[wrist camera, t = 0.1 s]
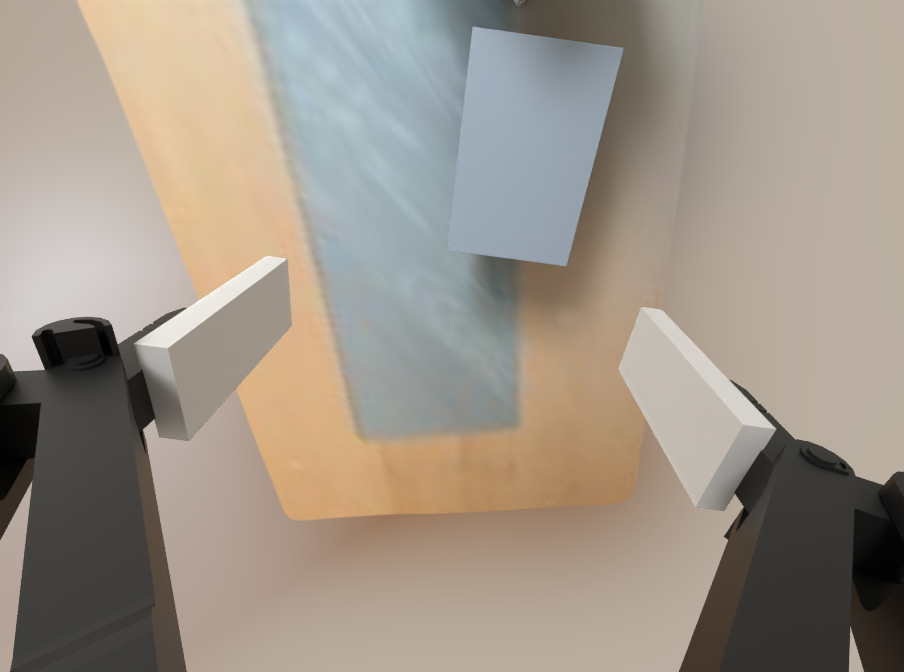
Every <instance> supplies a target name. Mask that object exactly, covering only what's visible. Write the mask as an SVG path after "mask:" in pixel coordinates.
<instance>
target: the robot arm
mask: <svg viewBox="0 0 904 672" xmlns="http://www.w3.org/2000/svg"><path fill="white" fill-rule="evenodd" d="M291 326H292V321H291V306H290V291H289V276H288V261H287V259H285V258H278V257H270V256H266V257H264V258H263V259H261V260H260V261H258V262H257V263H255V264H254V265H252V266H250V267H249V268H247V269H246V270H244V271H243V272H241V273H240V274H238V275H237V276H235V277H234V278H232V279H231V280H229V281H228V282H226V283H225V284H223V285H222V286H220V287H219V288H217V289H216V290H214V291H213V292H211V293H210V294H208V295H207V296H205V297H204V298H202V299H200V300H199V301H197V302H196V303H195V304H193V305H192V306H190V307H188V308H182V309H179V310H176V311H173V312H170V313H168V314H165V315H164V316H162V317H161V318H159V319H157V320H156V321H154V322H153V324H150V325H148V326H146V327H145V328H143V330H142V331H138V332H137V333H135V334H134V335H132V336H131V337H129V338H128V339H126V340H124V341H123V342H121V343H120V344H117V341H116V338H115V334H114V331H113V328H112V325H111V323H110V322H109V321H108V320H105V319H102V318H96V317H79V318H71V319H65V320H60V321H57V322H54V323H51V324H48V325H45V326H43V327H42V328H40V329H38V330H36V331H35V333H34V334H33V335H32V339H33V341H34V344H35V346H36V348H37V351H38V354H39V356H40V358H41V361H42V363H43V366H44V368H45V370H39V371H17V372H13V370H12V368H11V366H10V364H9V361H8V359H7V358H6V357H5V356H4V355H2V354H0V540H1V538H2V536H3V534H4V532H5V530H6V529H7V527H8V525H9V523H10V521H11V519H12V517H13V515H14V514H15V512H16V510H17V508H18V506H19V504H20V502H21V500H22V498H23V497H24V495H25V493H26V491H27V489H28V487H29V485H30V483H31V482H32V490H31V499H30V508H29V517H28V526H27V535H26V544H25V552H24V562H23V570H22V579H21V588H20V598H19V607H18V615H17V624H16V633H15V642H14V651H13V660H12V665H11V670H10V672H187V671H186V666H185V660H184V654H183V648H182V643H181V637H180V631H179V626H178V620H177V614H176V609H175V603H174V597H173V592H172V586H171V580H170V575H169V569H168V563H167V557H166V552H165V546H164V540H163V535H162V529H161V523H160V518H159V512H158V506H157V500H156V495H155V489H154V483H153V478H152V472H151V466H150V461H149V455H148V449H147V443H146V439H145V435H144V432H143V429H144V428H145V427H146V426H147V425H148V424H149V423H150V422H152V421H153V419H154V420H155V423H156V427H157V430H158V434H159V437H162V438H170V439H177V440H186V441H190V439H191V438H192V437H193V436H194V435H195V434H196V433H197V432H198V431H199V429H200V428H201V427H202V426H203V425H204V424H205V423H206V422H207V420H208V419H209V418H210V417H211V416H212V415H213V414H214V413H215V411H216V410H217V409H218V408H219V407H220V406H221V405H222V404H223V402H224V401H225V400H226V399H227V398H228V397H229V396H230V395H231V393H232V392H233V391H234V390H235V389H236V388H237V387H238V386H239V384H240V383H241V382H242V381H243V380H244V379H245V378H246V377H247V375H248V374H249V373H250V372H251V371H252V370H253V369H254V368H255V366H256V365H257V364H258V363H259V362H260V361H261V360H262V359H263V357H264V356H265V355H266V354H267V353H268V352H269V351H270V350H271V348H272V347H273V346H274V345H275V344H276V343H277V342H278V341H279V339H280V338H281V337H282V336H283V335H284V334H285V333H286V332H287V330H288V329H289V328H290V327H291ZM618 370H619V372H620V374H621V376H622V377H623V379H624V381H625V383H626V385H627V386H628V388H629V390H630V392H631V394H632V395H633V397H634V399H635V401H636V403H637V404H638V406H639V408H640V410H641V411H642V413H643V415H644V417H645V419H646V420H647V422H648V424H649V426H650V427H651V429H652V431H653V433H654V435H655V436H656V438H657V440H658V442H659V444H660V445H661V447H662V449H663V451H664V452H665V454H666V456H667V458H668V460H669V462H670V463H671V465H672V467H673V469H674V470H675V472H676V474H677V476H678V478H679V479H680V481H681V483H682V485H683V486H684V488H685V490H686V492H687V494H688V496H689V497H690V499H691V501H692V503H693V504H694V506H695V507H698V508H705V509H713V510H720V511H724V510H725V509H726V507H727V505H728V504H729V503H730V501H731V499H732V498H733V496H734V495H735V494H736V496H737V497H738V499H739V500H740V502H741V503H742V505H743V506H744V508H743V509H742V510H741V512H740V513H739V515H738V517H737V518H736V519H735V521H734V522H733V524H732V525H731V527H730V528H729V530H728V531H727V533H726V534H725V536H724V537H725V538H727V539H728V542H727V545H726V548H725V550H724V553H723V556H722V559H721V561H720V564H719V566H718V569H717V572H716V575H715V577H714V580H713V582H712V585H711V588H710V590H709V593H708V596H707V598H706V601H705V604H704V606H703V609H702V612H701V614H700V617H699V620H698V623H697V625H696V628H695V631H694V633H693V636H692V638H691V641H690V644H689V647H688V649H687V652H686V654H685V657H684V660H683V662H682V665H681V668H680V670H679V672H849V647H850V626H851V629H852V633H853V636H854V639H855V642H856V646H857V649H858V653H859V656H860V659H861V663H862V666H863V669H864V672H904V472H896V473H895V474H893V475H892V477H891V478H890V479H889V480H888V481H887V482H886V484H885V485H881V484H878V483H875V482H872V481H869V480H865V479H862V478H859V477H856V476H855V473H854V471H853V469H852V468H851V467H850V466H849V465H848V464H847V463H846V461H844V460H843V459H841V458H840V457H839V456H837V455H836V454H835V453H833V452H831V451H829V450H827V449H825V448H823V447H822V446H819V445H816V444H813V443H811V442H808V441H803V440H798V439H797V440H795V439H794V438H793V437H792V436H791V435H790V434H789V433H788V432H787V431H786V430H785V429H784V428H783V427H782V426H781V425H780V424H779V423H778V422H777V421H776V420H775V419H774V418H773V417H772V416H771V415H770V414H769V413H767V410H765V408H764V407H763V406H762V405H761V404H758V402H757V400H755V398H754V397H753V396H752V395H751V394H750V393H749V392H748V391H747V390H745V389H744V388H742V387H741V386H739V385H738V384H736V383H735V382H733V381H732V380H729V379H728V378H727V377H726V376H725V375H724V374H723V373H722V372H721V371H720V370H719V369H718V368H717V367H716V366H715V365H714V364H713V363H712V362H711V361H710V360H709V359H708V358H707V356H705V354H704V353H703V352H702V351H701V350H700V349H699V348H698V347H697V346H696V345H695V344H694V343H693V342H692V341H691V340H690V339H689V338H688V337H687V336H686V335H685V333H684V332H682V331H681V329H680V328H679V327H678V326H677V325H676V324H675V323H674V322H673V321H672V320H671V319H670V318H669V317H668V316H667V315H666V314H665V313H664V312H663V311H662V310H661V309H653V308H646V307H641V309H640V311H639V314H638V317H637V319H636V322H635V325H634V327H633V330H632V333H631V336H630V338H629V341H628V344H627V346H626V349H625V352H624V354H623V357H622V360H621V362H620V365H619V368H618ZM32 480H33V481H32Z"/></svg>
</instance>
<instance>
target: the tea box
mask: <svg viewBox="0 0 904 672" xmlns="http://www.w3.org/2000/svg"><path fill="white" fill-rule="evenodd" d="M513 1H514V2H515V3H516V5H517V6H520V5H521V4H522V3H523V2H524V1H525V0H513Z"/></svg>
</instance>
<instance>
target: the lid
mask: <svg viewBox="0 0 904 672" xmlns="http://www.w3.org/2000/svg"><path fill="white" fill-rule="evenodd" d="M623 50H624V48H622V47H615V46H608V45H600V44H593V43H586V42H579V41H572V40H565V39H558V38H551V37H543V36H536V35H529V34H522V33H515V32H508V31H501V30H493V29H486V28H479V27H473V28H472V36H471V45H470V53H469V62H468V70H467V79H466V87H465V96H464V104H463V113H462V121H461V130H460V138H459V147H458V155H457V164H456V172H455V181H454V189H453V198H452V206H451V215H450V223H449V232H448V240H447V249H446V250H450V251H457V252H464V253H472V254H479V255H487V256H494V257H501V258H509V259H516V260H524V261H531V262H538V263H546V264H553V265H561V266H567V262H568V258H569V255H570V251H571V247H572V243H573V240H574V236H575V232H576V228H577V224H578V221H579V217H580V213H581V209H582V205H583V202H584V198H585V194H586V190H587V186H588V183H589V179H590V175H591V171H592V168H593V164H594V160H595V156H596V152H597V149H598V145H599V141H600V137H601V133H602V130H603V126H604V122H605V118H606V114H607V111H608V107H609V103H610V99H611V96H612V92H613V88H614V84H615V80H616V77H617V73H618V69H619V65H620V61H621V58H622V54H623Z"/></svg>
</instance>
